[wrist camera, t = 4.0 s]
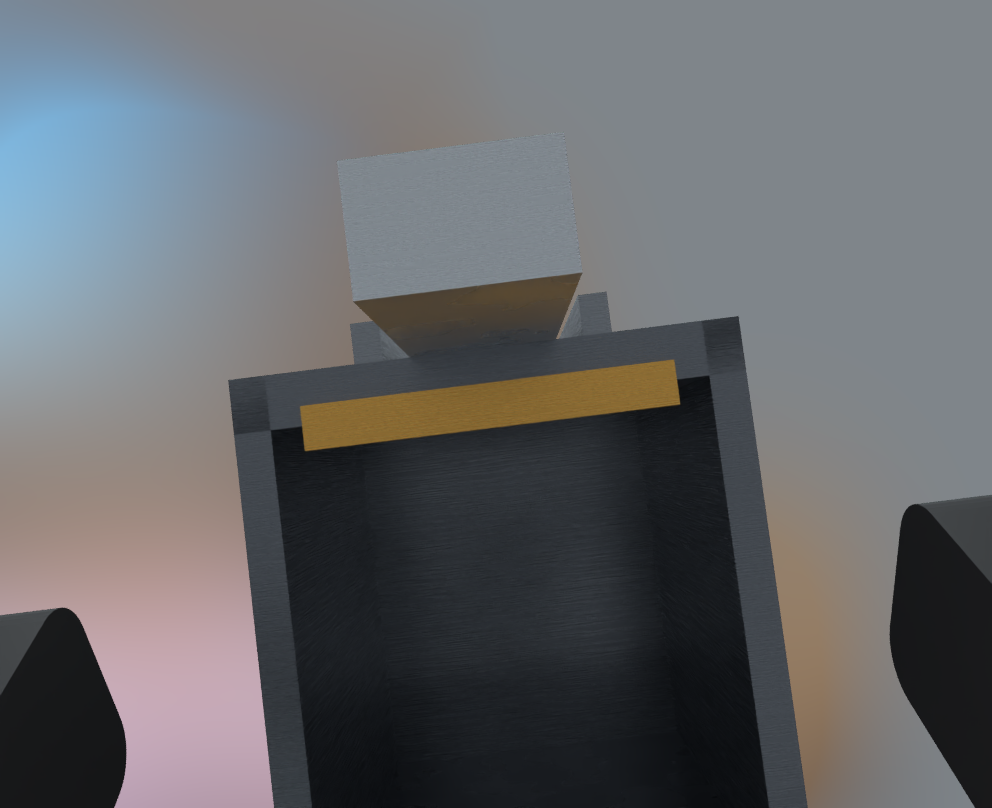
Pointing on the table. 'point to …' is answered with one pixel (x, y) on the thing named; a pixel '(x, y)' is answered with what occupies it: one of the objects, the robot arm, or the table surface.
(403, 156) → the panel
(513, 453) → the rack
